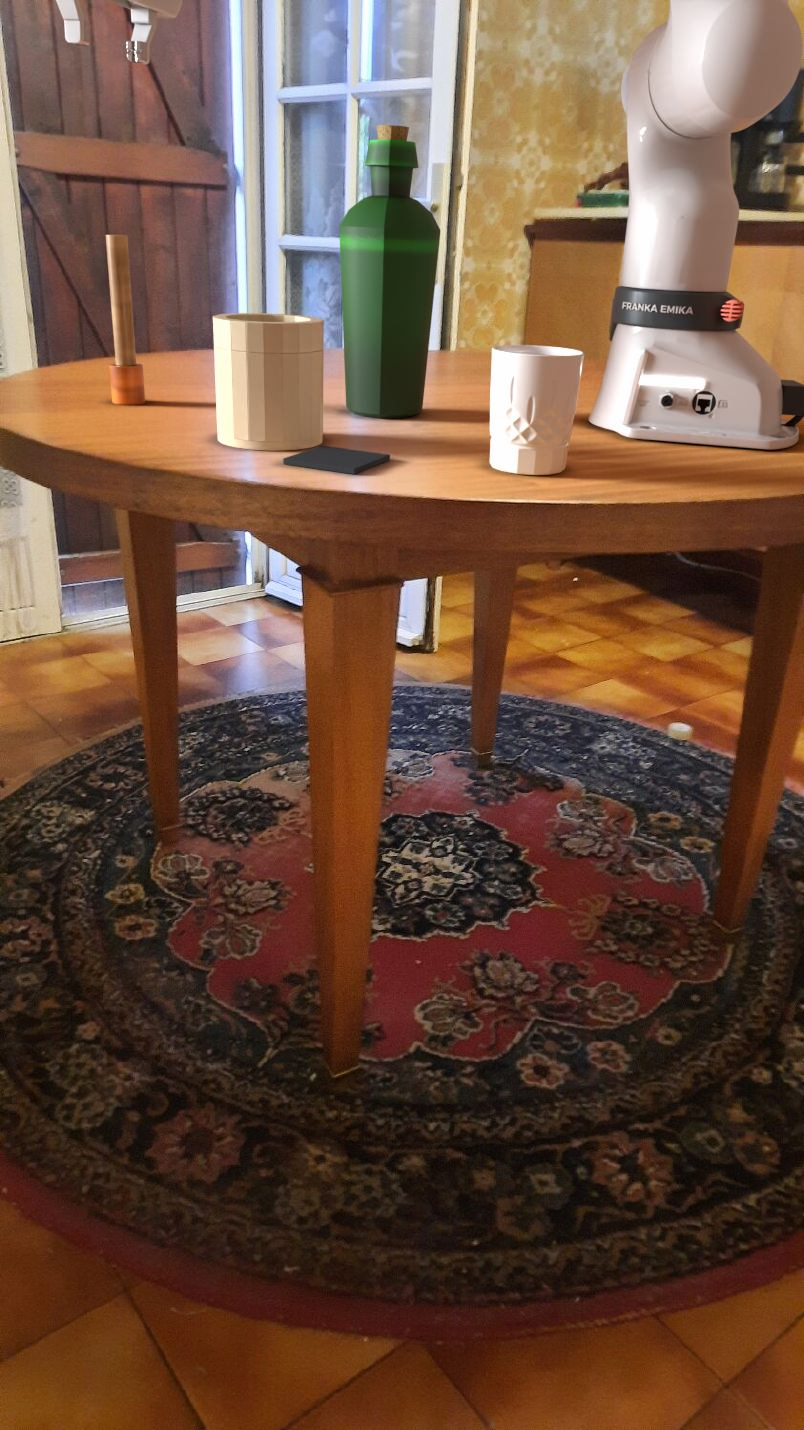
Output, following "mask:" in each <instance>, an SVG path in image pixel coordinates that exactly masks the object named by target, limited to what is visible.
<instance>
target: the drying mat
mask: <svg viewBox="0 0 804 1430" xmlns="http://www.w3.org/2000/svg"><path fill="white" fill-rule="evenodd" d="M282 460H283V461H282V464H283V465H287V466H294V467H301V468H308V469H314V470H320V471H321V470H322V471H327V472H328V471H329V472H335V473H341V474H349V475H356V474H359V473H361V472H363V471H366V470H369V469H372V468H374V467H376V466H379V465H381V464H384V463H387V462H389V461H390V460H391V455H390V454H389V453H388V454H386V453H379V452H371V451H365V450H358V449H351V448H344V447H336V446H329V445H319V446H316V447H313V448H311V449H308V450H304V451H301V452H299V453H296V454H293V455H290V456H287V457H284V458H283V459H282Z"/></svg>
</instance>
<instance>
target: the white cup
mask: <svg viewBox="0 0 804 1430" xmlns="http://www.w3.org/2000/svg"><path fill="white" fill-rule="evenodd" d="M584 358H585V352H584V351H582V350H578V349H575V348H569V347H560V346H549V345H534V344H502V345H495V346H493V347H491V361H490V362H491V364H490V366H491V367H490V387H489V388H490V392H489V436H490V440H489V441H490V442H489V465H490V466H491V467H492V469H495V470H497V471H501V472H505V473H509V474H517V475H527V476H549V475H556V474H560V473H562V472H563V471H565V469H566V466H567V460H568V454H569V453H568V452H569V445H570V444H569V442H570V441H571V437H572V433H573V427H574V419H575V415H576V411H577V404H578V398H579V391H580V385H581V378H582V372H583V366H584Z"/></svg>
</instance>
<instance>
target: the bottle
mask: <svg viewBox="0 0 804 1430" xmlns="http://www.w3.org/2000/svg"><path fill="white" fill-rule="evenodd" d="M409 131H410V127H409V126H405V125H392V124H380V125H376V132H377V133H376V134H377V139H371V140H369V141H368V142H369V143H368V148H367V153H366V159H365V162H364V166H365V167H369V171H370V173H369V174H370V189H371V194H370V195H368V196H365V197H364V198H361V200H359V201H358V202H357V203H355V204H354V205H353V206H351V207H350V208H349V209H348V210H347V212H346V214H345V215H344V217H343V219H342V220H341V222H340V224H339V225H338V229H339V230H338V231H339V252H340V253H339V254H340V255H339V256H340V282H341V284H340V285H341V307H342V310H341V311H342V333H343V334H342V336H343V359H344V362H343V363H344V385H345V407H346V408H347V409H348V410H349V412H352V413H353V414H354V415H358V416H361V417H368V418H376V419H403V418H410V417H413V416H415V415H418V413H420V412H422V411H423V405H424V396H425V387H426V378H427V369H428V367H427V366H428V359H429V358H428V357H429V349H430V338H431V328H432V320H433V319H432V317H433V309H434V299H435V290H436V289H435V288H436V279H437V271H438V261H439V250H440V239H441V228H440V226H439V224H438V222H437V220H436V219H435V216H434V214H433V213H432V212H431V211H430V210H429V209H428V208H427V207H426V206H424V205H423V203H421V202H420V201H419V200H417V199H415V198H413V197H411V190H412V183H413V171H414V169H419V160H418V153H417V145H416V142H415V141H410V140H408V136H409Z"/></svg>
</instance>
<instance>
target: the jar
mask: <svg viewBox="0 0 804 1430" xmlns="http://www.w3.org/2000/svg"><path fill="white" fill-rule="evenodd" d="M324 323H325V320H323V319H322V318H320V317H315V316H308V315H300V314H299V315H298V314H288V313H287V314H285V313H269V312H268V313H267V312H266V313H265V312H264V313H263V312H239V313H237V312H236V313H235V312H234V313H219V314H216V315H212V324H213V325H212V328H213V329H212V331H213V357H214V381H215V382H214V384H215V386H214V387H215V409H216V410H215V411H216V412H215V413H216V430H217V431H216V432H217V433H216V434H217V441H218V442H219V443H220V444H222V445H224V446H228V447H232V448H236V449H243V450H253V451H271V452H272V451H273V452H277V451H280V452H281V451H282V452H283V451H296V450H304V449H310V448H311V449H312V448H315V447H318V446H320V445H321V444H322V443H323V435H324V355H325V354H324V348H325V347H324V343H325V341H324V333H325V332H324V331H325V329H324V328H325V327H324V326H325V324H324Z"/></svg>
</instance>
